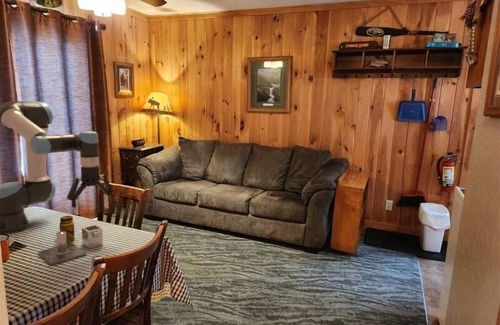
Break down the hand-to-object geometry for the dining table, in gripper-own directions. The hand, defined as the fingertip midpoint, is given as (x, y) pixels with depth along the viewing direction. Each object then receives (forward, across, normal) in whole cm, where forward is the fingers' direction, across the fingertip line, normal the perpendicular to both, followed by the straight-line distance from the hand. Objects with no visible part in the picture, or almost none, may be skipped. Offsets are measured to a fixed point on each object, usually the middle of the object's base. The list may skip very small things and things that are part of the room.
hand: (91, 210), depth 153 cm
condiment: (+17, -8, +12) cm, 22 cm away
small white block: (+16, 0, 0) cm, 16 cm away
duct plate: (+16, -14, -2) cm, 22 cm away
